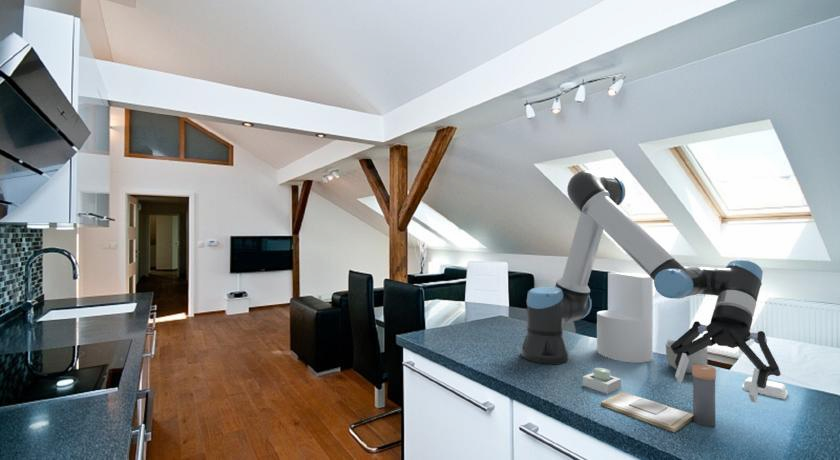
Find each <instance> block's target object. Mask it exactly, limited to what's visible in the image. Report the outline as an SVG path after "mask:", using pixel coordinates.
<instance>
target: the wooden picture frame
mask: <svg viewBox="0 0 840 460" xmlns="http://www.w3.org/2000/svg"><path fill="white" fill-rule="evenodd" d="M600 406H602V407H605V408H608V409H610V410H613V411H616V412H618V413H621V414H623V415H626V416H629V417H631V418H634V419H637V420H639V421H642V422H646V423H647V424H650V425H653V426H656V427H659V428H661V429H664V430H667V431H669V432H673V433H676V432H678V430H680V429H682V428H683V427H685V426H686V425H687V424H689V423H690V422H692V421H693V413H690V412H687V411H684V410H681V409H678V408H675V407H671V406H668V405H666V404H663V403H659V402H656V401H653V400H651V399H647V398H644V397H642V396H638V395H634V394H632V393H629V392H626V391H621V392H619V393H617V394H614V395H612V396H610V397H608V398H606V399H604V400H602V401H600Z"/></svg>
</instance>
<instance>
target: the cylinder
mask: <svg viewBox="0 0 840 460" xmlns="http://www.w3.org/2000/svg"><path fill="white" fill-rule="evenodd" d="M653 284H654V280H653V279H652V278H651V277H650V276H649V275H648V274H643V273H635V272H634V273H631V272H607V310H599V311H597V312H596V352H597V354H598V353H599V354H598V355H600V354H601V355H600V356H602V355H603V356H602V357H604V356H605V358H606V357H608V358H607V359H610V358H611V360H613V359H614V361H618V360H619V361H620V362H624V363H625V362H627V363H639V364H641V363H649V362H651V361H653V357H654V356H653V349H654V348H653V346H654V345H653V341H654V340H653V338H654V337H653V335H654V332H653V330H654V329H653V327H654V326H653V322H654V321H653V316H654V315H653V312H654V311H653V310H654V309H653V302H654V301H653V299H654V297H653V293H654V292H653V291H654V290H653Z"/></svg>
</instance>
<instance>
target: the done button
mask: <svg viewBox="0 0 840 460" xmlns="http://www.w3.org/2000/svg"><path fill="white" fill-rule="evenodd" d="M593 372H594V378H595V379H598V380H601V381H604V382H607V381H609V380H610V376H611V370H609V369H607V368H603V367H595V368H593Z"/></svg>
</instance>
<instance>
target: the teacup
mask: <svg viewBox="0 0 840 460" xmlns="http://www.w3.org/2000/svg"><path fill="white" fill-rule="evenodd" d="M675 341H676V340H675V339H673V338H672V339H668V340H667V341H666V342H665V343H664V344H665V345H664V346H665V353H666V360H667V363H668V364H669V365H670V366H671V367H672V368H673V369H674V370H676V371H677V368H678V367H677V366H676V365H675V360H676V357H677V354H674V352H673V350H672V349H671V345H672V344H673V343H674V342H675ZM688 359H689V362H688V365H687V368H686V371H685V374H692V365H695V364H699V365H706V366H708V346H707V347H705V348H703V349H701V350H699V351H697V352H695V353H694V354H692V355H690V356H688Z"/></svg>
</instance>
